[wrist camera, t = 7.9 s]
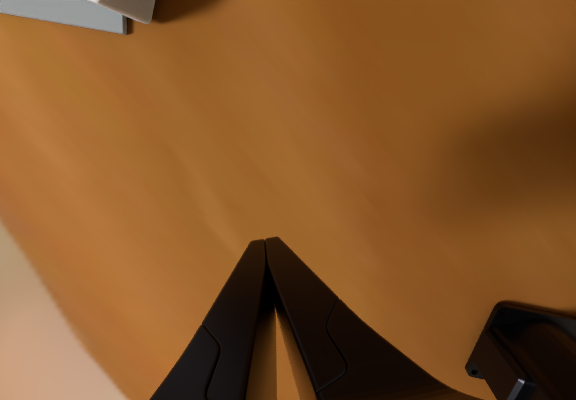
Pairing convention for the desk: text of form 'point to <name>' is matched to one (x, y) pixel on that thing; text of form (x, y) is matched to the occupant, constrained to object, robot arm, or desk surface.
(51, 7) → the slate mat
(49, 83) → the desk surface
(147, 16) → the medicine box
